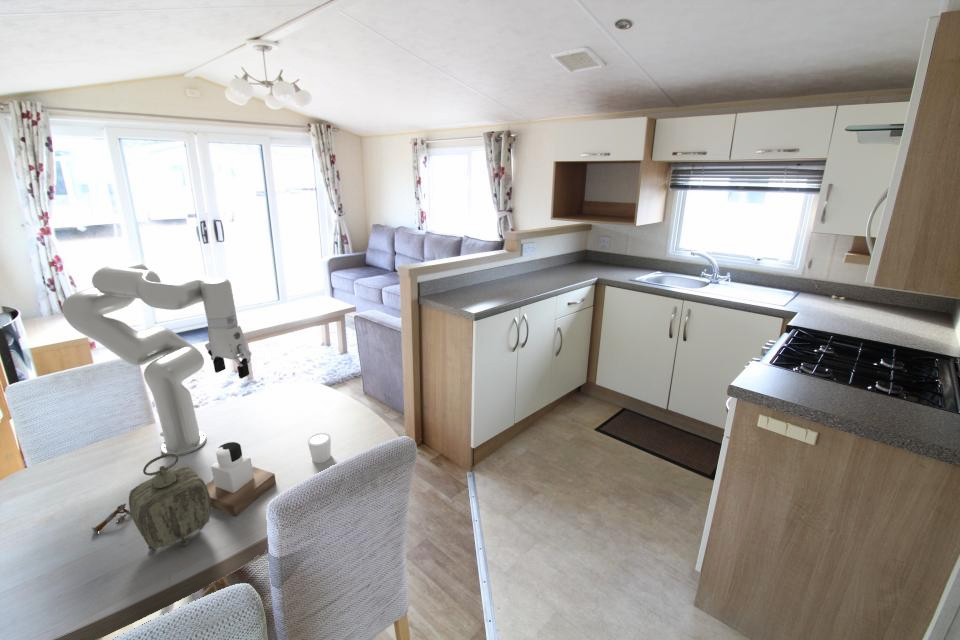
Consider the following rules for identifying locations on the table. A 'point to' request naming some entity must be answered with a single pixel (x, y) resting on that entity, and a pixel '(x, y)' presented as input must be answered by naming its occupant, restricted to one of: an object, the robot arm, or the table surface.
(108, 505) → the table surface
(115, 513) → the wooden post with brackets
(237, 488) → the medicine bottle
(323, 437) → the white cup
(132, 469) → the table surface
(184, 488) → the camouflage pouch
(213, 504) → the block
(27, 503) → the table surface
